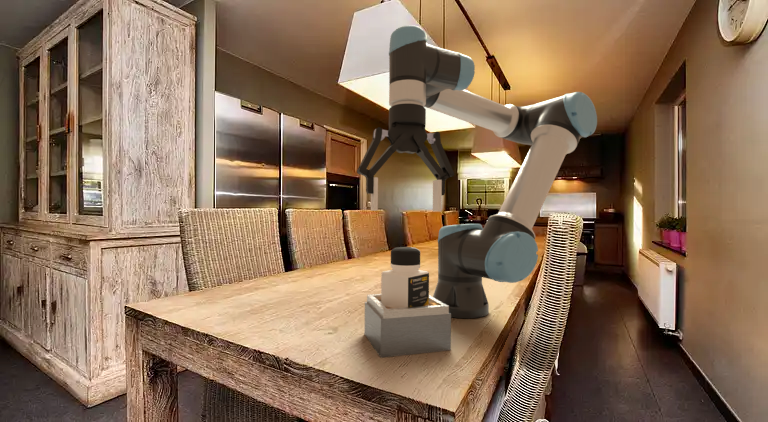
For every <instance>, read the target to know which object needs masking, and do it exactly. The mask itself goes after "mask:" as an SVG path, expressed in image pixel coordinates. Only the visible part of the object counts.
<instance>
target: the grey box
mask: <svg viewBox="0 0 768 422" xmlns="http://www.w3.org/2000/svg"><path fill="white" fill-rule="evenodd" d="M364 336H365V337H366V339H367V340H368V342H369V343H370V345H371V346H372V348H373V349H374V350H375V352H376V353H377V354H378V356H379V357H380V358H387V357H388V358H390V357H396V356H408V355H415V354H427V353H436V352H446V351H451V349H452V347H451V345H452V344H451V341H452V338H451V337H452V317H451V313H449V306H448V305H446V304H444V303H442V302H441V301H439V300H437V299H435V298H434V297H433V296H432V295H430V294H429V305H428V306H420V307H405V308H387V307H385V306H384V305H383V304H382V303H381V293H375V294H371V293H370V294H367V295H366V301H364Z"/></svg>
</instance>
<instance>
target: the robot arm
mask: <svg viewBox="0 0 768 422" xmlns="http://www.w3.org/2000/svg"><path fill="white" fill-rule="evenodd" d="M388 56H389V57H388V59H389V60H388V61H389V63H388V64H389V67H388V68H389V72H388V73H389V77H388V79H389V83H388V85H389V87H388V88H389V89H388V90H389V91H388V95H389V97H388V100H389V101H388V105H389V106H390V107H389V109H388V130H387V129H383V128H382V127H379V126H378V127H377V128H375V129H374V130H373V133H372V140H371V142H370V144H369V146H368V148H367V151H366V152H365V154H364V155H363V158H362V160H361V162H360V164H359V166H358V168H357V170H356V173H357V174H358V175H361V176H363V177H365V192H366V194H368V195H369V194H370V211H375V212H376V211H379V210H378V209H379V177H377V176H375V175H376V174H377V173H378V172H379V171H380V170H381V168H382V167H383V166H384V164H385V163H387V161H388V160H389V159H390V158H391V157H392V156H393V154H394V153H395V152H396V153H398V154H403V153H406V154H409V155H410V154H413V155H414V154H416V155H417V156H418V157H419V158H420V159H421V160H422V162H423V163H424V164H425V166H426V167H427V168H428V170H429V171H430V172H431V173H432V175H433V176H434V178H435V179H436V180H432V212H442V196H445V195H446V182H447V181H446V180H448V179H449V178H452V177H454V176H455V171H454V169H453V167H452V164H451V162H450V160H449V158H448V155H447V154H446V151H445V148H444V146H443V144H442V142H441V133H440V132H439V131H435V132H432V133H431V132H430V133H427V131H426V125H427V124H426V121H427V120H426V119H427V116H426V113H427V111H426V108H427V109H429V110H432V111H435V112H438V113H441V114H444V115H447V116H450V117H452V118H456V119H458V120H461V121H464V122H466V123H469V124H472V125H474V126H475V125H476V126H478V127H481V128H484V129H486V130H488V131H492V132H493V134H494V136H496V137H497V138H501V139H504V140H507V141H510V142H513V143H518V144H521V145H527V146H530V148H529V150H528V152H527V154H526V156H525V158H524V160H523V162H522V164H521V166H520V168H519V170H518V172H517V174H516V176H515V179H514V181H513V182H512V184H511V186H510V188H509V191H508V192H507V195H506V196H505V199H504V200H503V203H502V205H501V207H500V209H499V210H498V212H497V213H496V214H493V215H490V216H489V217H488V218H487V220H486V223H485V224H484V227H483V225H482V224H481V223H465V224H464V223H461V224H452V225H451V224H450V225H444V226H442V227H440V229H439V231H438V236H437V237H438V238H437V284H436V286H435V289H434V292H433V296H432V297H434V298H435V299H437V300H439V301H441V302H442V303H444V304H446V305H448V306H449V313H451V318H454V319H455V318H456V319H475V318H482V317H485V316H488V315H489V311H490V308H489V302H488V298H487V294H486V292H485V288H484V285H483V279H489V280H493V281H495V282H499V283H509V284H514V283H519V282H522V281H523V280H525V279H527V278H528V277H529V276H530V275H531V274H532V272H533V271H534V270H535V268H536V265H537V262H538V259H539V258H538V257H539V255H538V254H537V253H538V251H539V248H538V243H537V241H536V233H535V232H534V230H533V227H534V225H535V223H536V220H537V219H538V217H539V214H540V212H541V209H543V205H544V203H545V201H546V199H547V197H548V194H549V192H550V190H551V188H552V186H553V183H554V181H555V179H556V177H557V175H558V173H559V170H560V168H561V166H562V164H563V162H564V159H565V157H566V155H567V154H571V153H573V152H574V151H575V150H576V148H577V147H578V144H579V142H580V139H581V138H587V137H589V136H592V135H593V134H594V133H595V131H596V129H597V125H598V115H597V110H596V107H595V105H594V103H593V101H592V98H590V97H589V96H588V94H586V93H584V92H583V91H575V92H571V93H570V92H569V93H565V94H564V95H561V96H558V97H554V98H551V99H547V100H544V101H541V102H537V103H534V104H530V105H524V106H517V105H514V104H511V103H509V104H505V105H504V104H502V103H499V102H496V101H495V100H492V99H489V98H486V97H485V96H482V95H479V94H477V93H474V92H471V91H469V90H468V89H467V88H468V87H469V86H471V83H472V82H473V79H474V78H475V73H476V72H475V70H476V69H475V67H476V65H475V62H474V60H473V59H472V57H470V56H468V55H466V54H464V53H463V54H462V53H461V52H459V51H453V50H449V49H446V48H442V47H438V46H434V45H432V44H429V43H428V38H427V33H426V31H425V30H424V29H423V28H421V27H420V26H418V25H403V26H399V27H398V28H396V29H395V30H394V31H392V33H391V35H390V39H389V51H388ZM385 138H387V140H388V141H389V143H390V144H389V145H388V147H387V148H386V149H385V151H384V152H383V153H382V154H381V155H380V157H378V159H377V160H376V161H375V162H374V164H373V165H371V167H370V168H369V169H368V167H369V165H370V163H371V161H372V159H373V157H374V155H375V153H376V151H377V149H378V148H379V146H380V143H381V141H383V140H384V139H385ZM426 141H428V143H429V144H430V147H431V149H432V152H433V154H434V157H435V158H436V160H437V161H436V160H435V158H434V157H433V156H432V155H431V152H429V148H428V147H427V146H426V145H425V142H426Z"/></svg>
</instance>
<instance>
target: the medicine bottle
mask: <svg viewBox="0 0 768 422" xmlns="http://www.w3.org/2000/svg"><path fill="white" fill-rule="evenodd" d="M390 268H391V269H388V270H383V271H381V274H380V275H381V276H380V277H381V278H380V279H381V280H380V281H381V282H380V283H381V286H380V287H381V289H380V290H381V291H380V294H381V303H382V304H383V305H384V306H385V307H387V308H405V307H420V306H428V305H429V295H430V272H429V271H427V270H423V269H421V250H420V249H418V248H416V247H412V246H400V247H399V246H397V247H394V248H392V249H391V250H390Z"/></svg>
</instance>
